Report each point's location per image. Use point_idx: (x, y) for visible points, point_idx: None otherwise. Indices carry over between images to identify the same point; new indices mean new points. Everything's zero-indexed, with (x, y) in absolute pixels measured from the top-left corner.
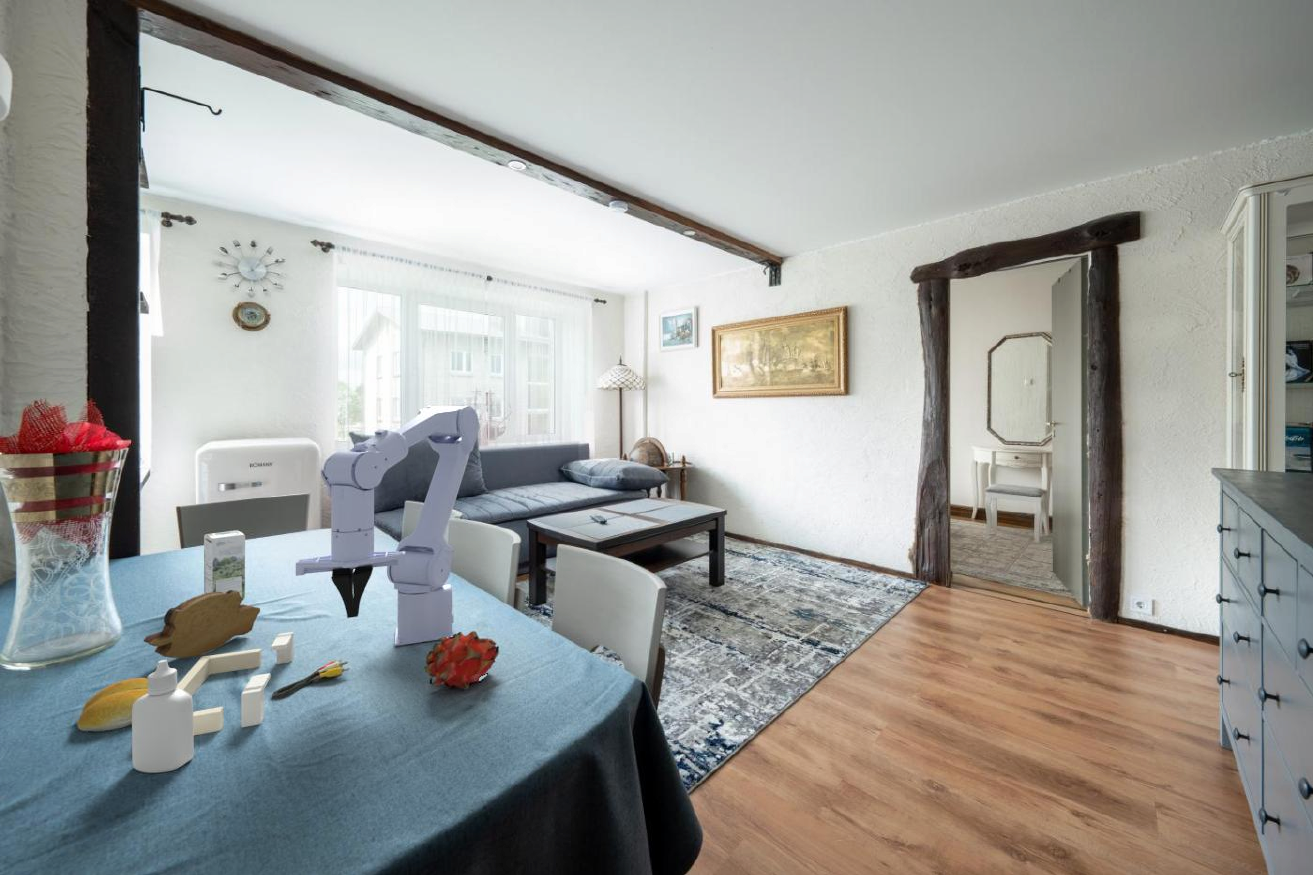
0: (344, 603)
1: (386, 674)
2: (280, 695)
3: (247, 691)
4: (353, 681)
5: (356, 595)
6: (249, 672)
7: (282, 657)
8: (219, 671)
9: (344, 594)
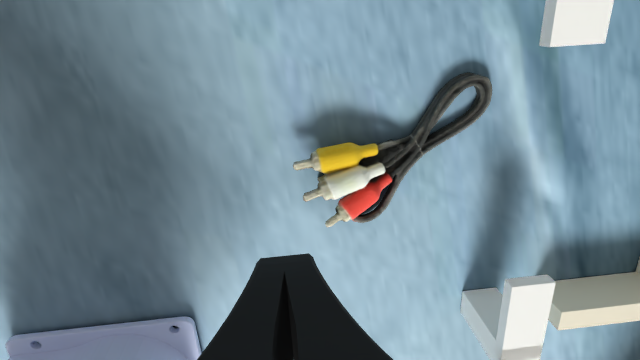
0: (337, 300)
1: (173, 132)
2: (469, 75)
3: None
4: (272, 115)
5: (247, 347)
6: (552, 258)
7: (491, 299)
8: (618, 275)
9: (348, 348)
